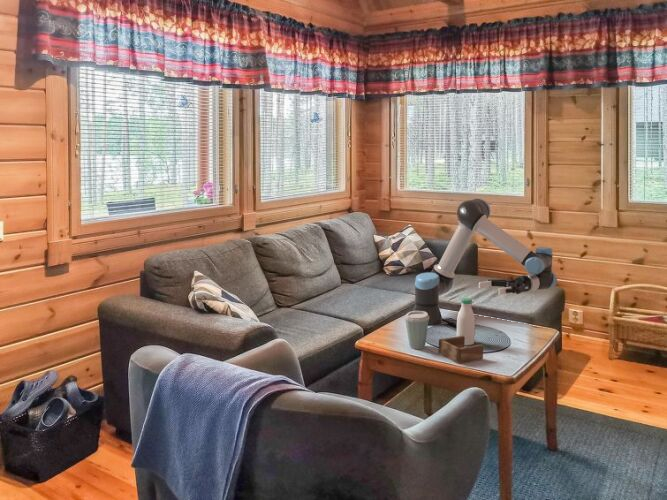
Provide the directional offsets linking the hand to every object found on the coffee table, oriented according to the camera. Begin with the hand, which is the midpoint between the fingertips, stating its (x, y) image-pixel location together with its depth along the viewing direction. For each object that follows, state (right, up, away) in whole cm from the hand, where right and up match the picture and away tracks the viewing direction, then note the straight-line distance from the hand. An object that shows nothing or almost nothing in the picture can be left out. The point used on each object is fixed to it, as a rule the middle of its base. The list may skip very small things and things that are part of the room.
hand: (488, 288), depth 264 cm
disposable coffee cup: (-33, -25, -4) cm, 41 cm away
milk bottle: (-10, -24, 0) cm, 26 cm away
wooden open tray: (-16, -27, -17) cm, 36 cm away
